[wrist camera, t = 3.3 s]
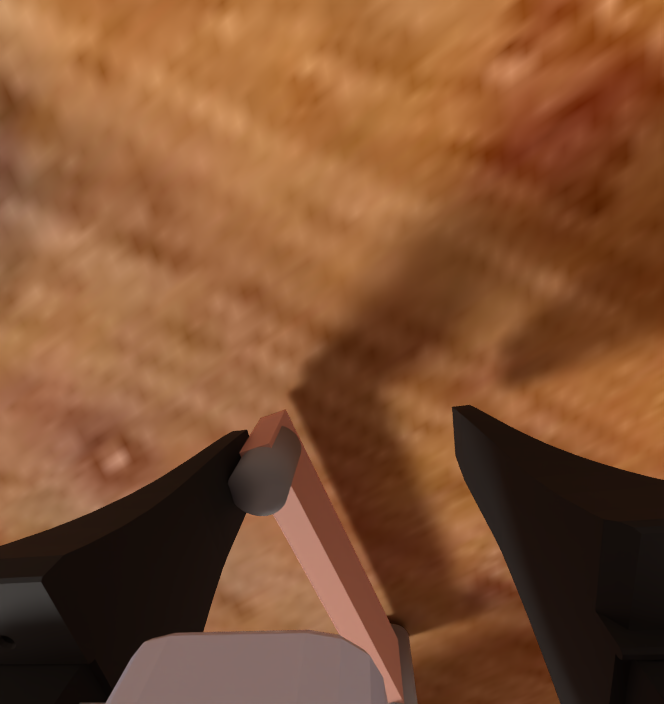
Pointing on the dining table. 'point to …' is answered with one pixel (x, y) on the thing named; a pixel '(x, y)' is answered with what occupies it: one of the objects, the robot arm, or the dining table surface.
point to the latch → (320, 546)
